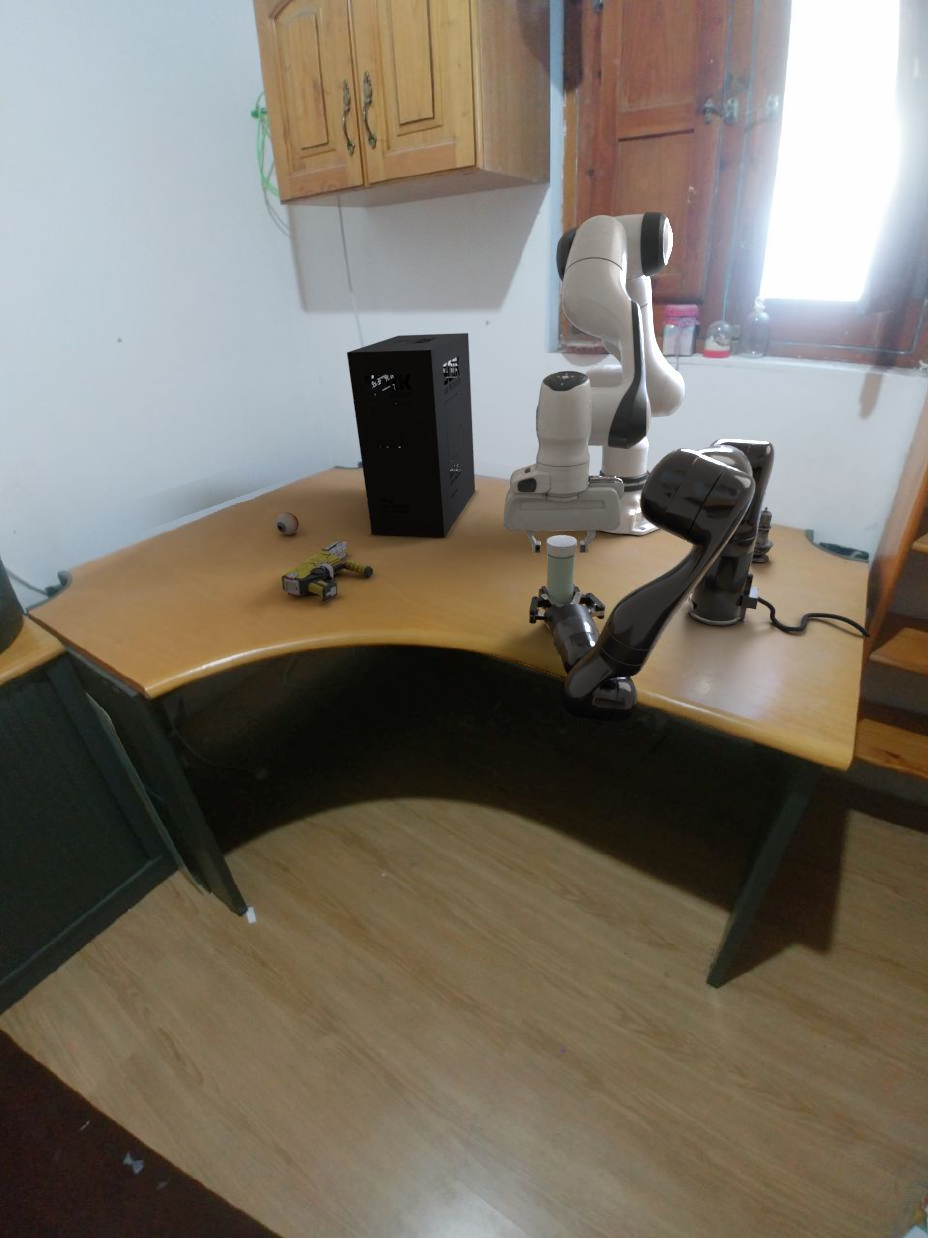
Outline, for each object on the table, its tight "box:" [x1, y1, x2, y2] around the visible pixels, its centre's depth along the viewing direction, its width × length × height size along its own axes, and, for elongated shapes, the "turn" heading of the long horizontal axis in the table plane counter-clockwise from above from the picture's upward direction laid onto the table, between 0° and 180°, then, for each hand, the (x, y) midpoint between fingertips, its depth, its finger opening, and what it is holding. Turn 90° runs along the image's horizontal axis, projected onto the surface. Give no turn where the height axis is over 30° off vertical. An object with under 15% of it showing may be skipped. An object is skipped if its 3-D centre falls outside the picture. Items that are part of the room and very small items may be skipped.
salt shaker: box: [752, 506, 774, 563], centre depth 134 cm, size 6×6×12 cm
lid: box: [546, 534, 578, 557], centre depth 108 cm, size 5×5×2 cm
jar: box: [546, 553, 576, 629], centre depth 112 cm, size 5×5×17 cm
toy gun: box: [281, 539, 374, 603], centre depth 138 cm, size 5×24×15 cm
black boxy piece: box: [346, 332, 476, 538], centre depth 164 cm, size 38×20×45 cm, turn 167°
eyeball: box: [275, 511, 300, 536], centre depth 163 cm, size 6×6×6 cm
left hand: (559, 551), depth 109 cm, fingers open, 7 cm apart
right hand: (557, 589), depth 115 cm, fingers closed on jar, 5 cm apart
